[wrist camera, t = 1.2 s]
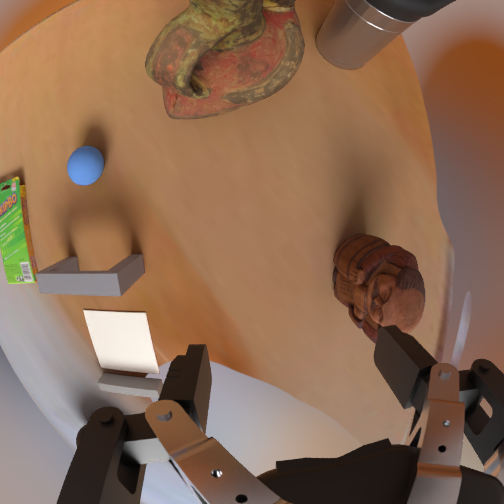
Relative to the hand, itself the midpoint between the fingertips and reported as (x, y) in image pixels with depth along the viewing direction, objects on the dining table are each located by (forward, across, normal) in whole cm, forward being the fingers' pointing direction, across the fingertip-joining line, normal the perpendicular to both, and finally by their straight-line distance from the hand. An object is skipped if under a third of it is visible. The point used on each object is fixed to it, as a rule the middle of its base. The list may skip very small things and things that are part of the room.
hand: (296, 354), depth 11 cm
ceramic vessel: (+30, +2, -26) cm, 40 cm away
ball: (+26, +25, -13) cm, 38 cm away
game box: (+30, +47, -4) cm, 56 cm away
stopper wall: (+29, +26, +27) cm, 47 cm away
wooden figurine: (+29, -14, +6) cm, 33 cm away
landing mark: (+29, +26, +18) cm, 43 cm away
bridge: (+29, +26, +3) cm, 39 cm away
